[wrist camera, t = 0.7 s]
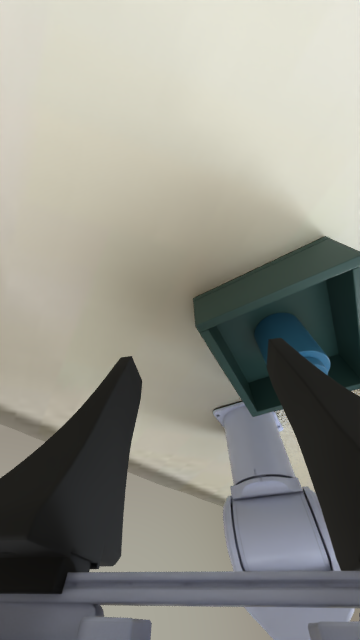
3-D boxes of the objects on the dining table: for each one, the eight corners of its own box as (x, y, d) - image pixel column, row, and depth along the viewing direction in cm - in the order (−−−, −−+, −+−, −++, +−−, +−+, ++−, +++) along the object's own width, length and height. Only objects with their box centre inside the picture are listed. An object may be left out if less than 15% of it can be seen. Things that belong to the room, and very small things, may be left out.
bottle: (304, 337, 23) (356, 409, 16) (261, 352, 24) (292, 424, 17) (294, 305, 20) (351, 371, 13) (248, 323, 22) (278, 393, 15)
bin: (343, 352, 24) (373, 384, 21) (243, 384, 28) (252, 417, 24) (325, 235, 17) (365, 253, 13) (192, 298, 21) (195, 326, 17)
